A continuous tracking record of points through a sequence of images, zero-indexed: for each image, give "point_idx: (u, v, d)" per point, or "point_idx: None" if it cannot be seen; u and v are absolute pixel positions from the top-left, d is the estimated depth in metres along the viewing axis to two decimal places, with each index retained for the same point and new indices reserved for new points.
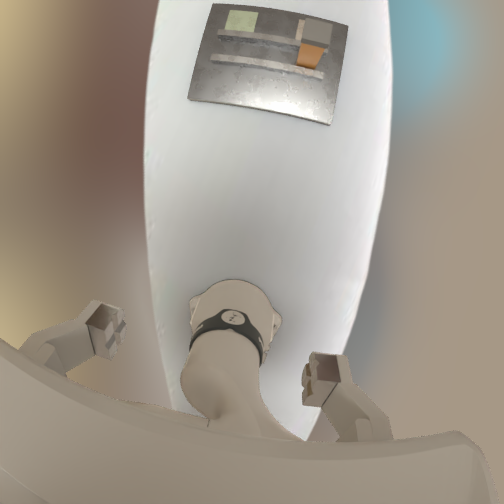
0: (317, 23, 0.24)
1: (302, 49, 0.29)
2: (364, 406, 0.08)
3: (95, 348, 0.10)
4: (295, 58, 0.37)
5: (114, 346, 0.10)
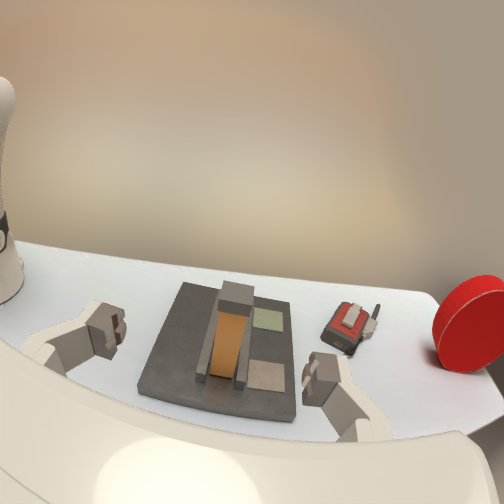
0: (248, 293, 0.29)
1: None
2: (364, 406, 0.08)
3: (95, 348, 0.10)
4: None
5: (114, 346, 0.10)
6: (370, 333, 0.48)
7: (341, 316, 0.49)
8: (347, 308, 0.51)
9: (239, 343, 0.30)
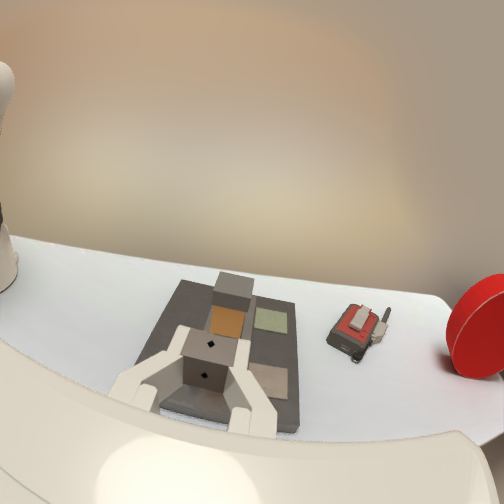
0: (247, 285, 0.26)
1: None
2: (249, 395, 0.08)
3: (186, 378, 0.10)
4: None
5: (206, 372, 0.10)
6: (380, 337, 0.43)
7: (349, 318, 0.45)
8: (355, 310, 0.48)
9: None
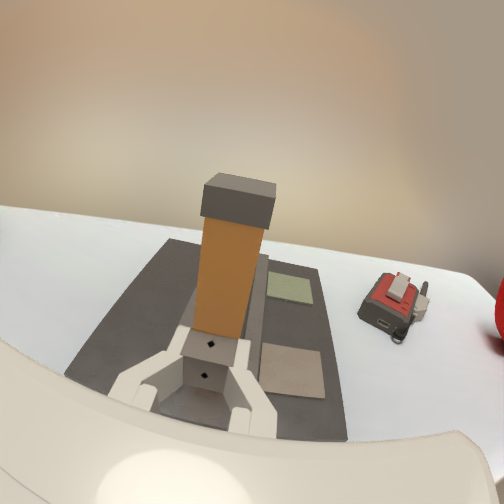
0: (266, 187, 0.15)
1: None
2: (249, 395, 0.08)
3: (186, 378, 0.10)
4: None
5: (206, 373, 0.10)
6: (422, 312, 0.32)
7: (385, 287, 0.34)
8: (391, 279, 0.36)
9: (245, 298, 0.16)
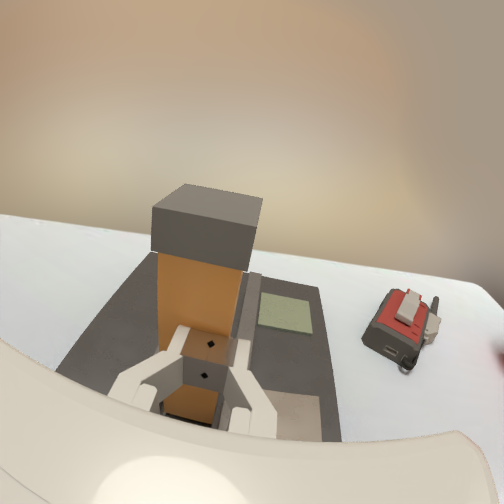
0: (246, 206, 0.10)
1: None
2: (250, 395, 0.08)
3: (186, 378, 0.10)
4: None
5: (206, 372, 0.10)
6: (434, 335, 0.27)
7: (393, 307, 0.29)
8: (400, 297, 0.31)
9: None
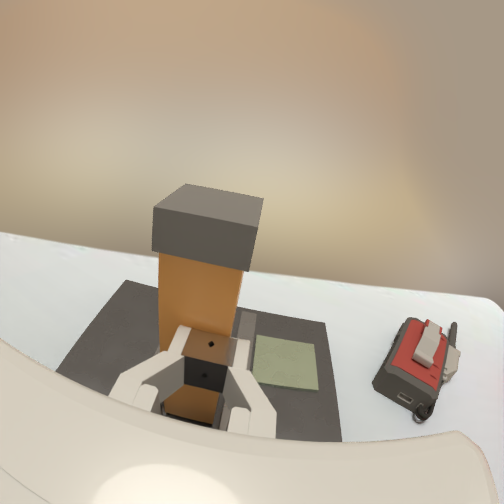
0: (247, 206, 0.10)
1: None
2: (249, 395, 0.08)
3: (187, 378, 0.10)
4: None
5: None
6: (452, 373, 0.21)
7: (410, 344, 0.23)
8: (417, 329, 0.26)
9: None
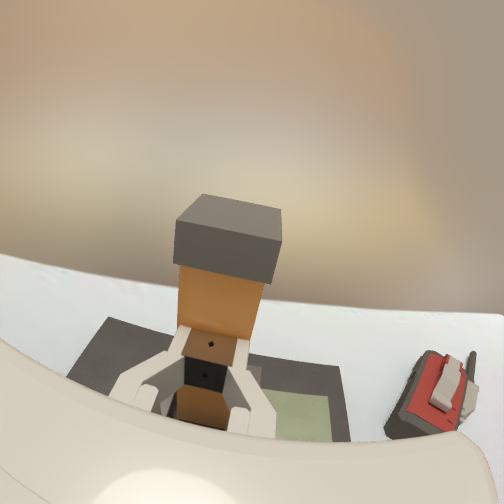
0: (267, 218, 0.10)
1: None
2: (248, 395, 0.08)
3: (187, 378, 0.10)
4: None
5: None
6: (469, 413, 0.17)
7: (428, 384, 0.19)
8: (436, 365, 0.21)
9: None
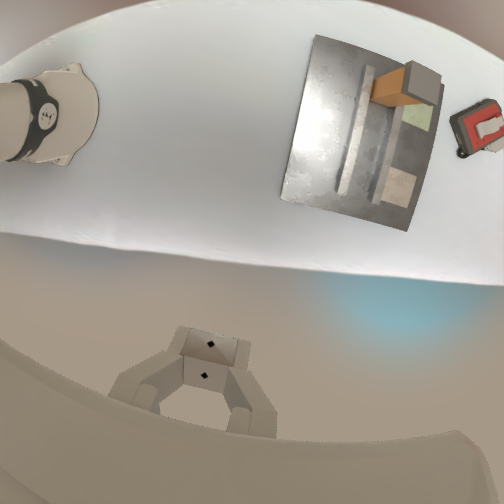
0: (435, 86, 0.18)
1: (395, 72, 0.21)
2: (250, 395, 0.08)
3: (186, 378, 0.10)
4: (365, 163, 0.34)
5: (206, 373, 0.10)
6: (492, 151, 0.30)
7: (481, 117, 0.27)
8: (493, 112, 0.26)
9: (408, 104, 0.24)
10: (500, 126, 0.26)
